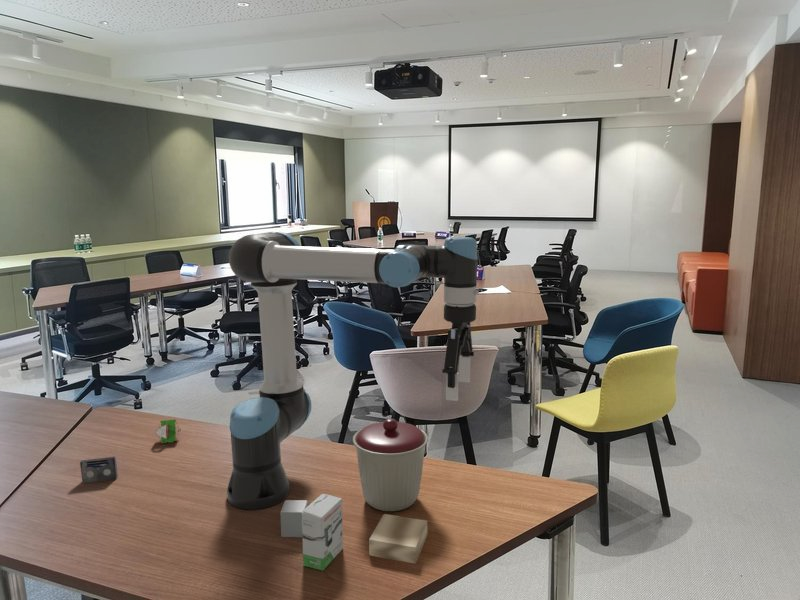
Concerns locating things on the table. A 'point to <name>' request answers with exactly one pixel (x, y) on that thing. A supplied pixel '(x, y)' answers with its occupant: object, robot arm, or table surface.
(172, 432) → the geometric puzzle
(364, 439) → the canister
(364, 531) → the table surface
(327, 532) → the ink box
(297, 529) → the grey block
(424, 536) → the oak block
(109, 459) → the mini dv tape
